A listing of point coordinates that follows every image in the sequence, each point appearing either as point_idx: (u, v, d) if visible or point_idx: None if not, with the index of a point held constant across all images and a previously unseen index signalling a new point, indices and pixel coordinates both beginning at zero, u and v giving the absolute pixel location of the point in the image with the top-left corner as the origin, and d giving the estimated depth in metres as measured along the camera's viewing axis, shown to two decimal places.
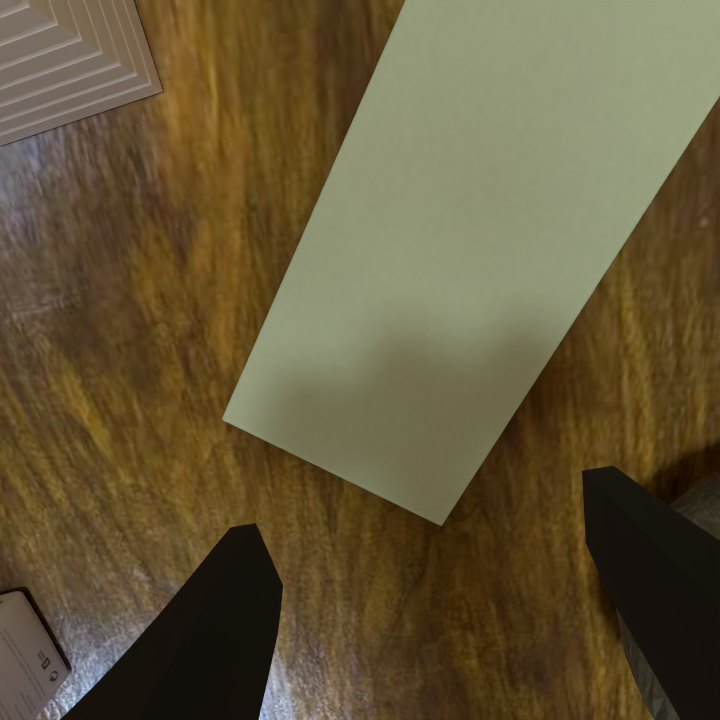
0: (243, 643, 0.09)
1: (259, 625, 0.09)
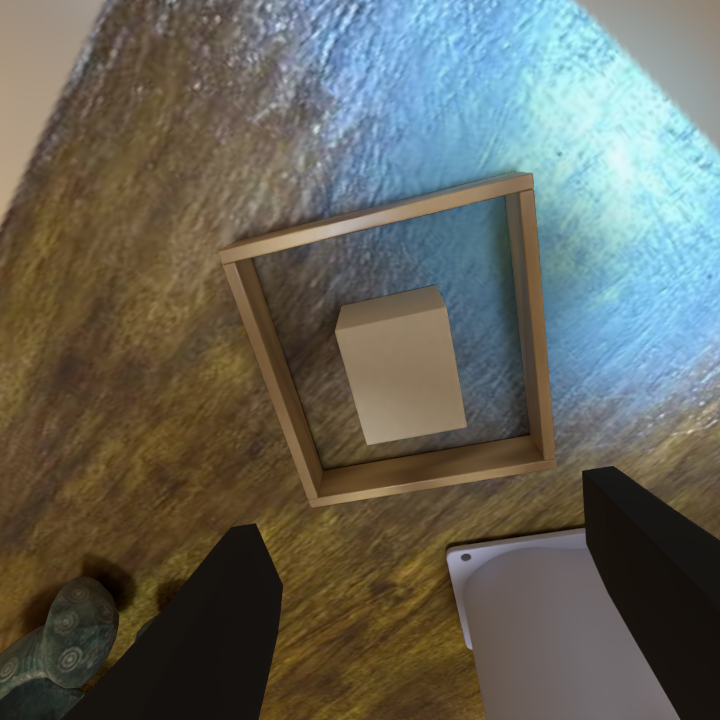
0: (243, 643, 0.09)
1: (259, 625, 0.09)
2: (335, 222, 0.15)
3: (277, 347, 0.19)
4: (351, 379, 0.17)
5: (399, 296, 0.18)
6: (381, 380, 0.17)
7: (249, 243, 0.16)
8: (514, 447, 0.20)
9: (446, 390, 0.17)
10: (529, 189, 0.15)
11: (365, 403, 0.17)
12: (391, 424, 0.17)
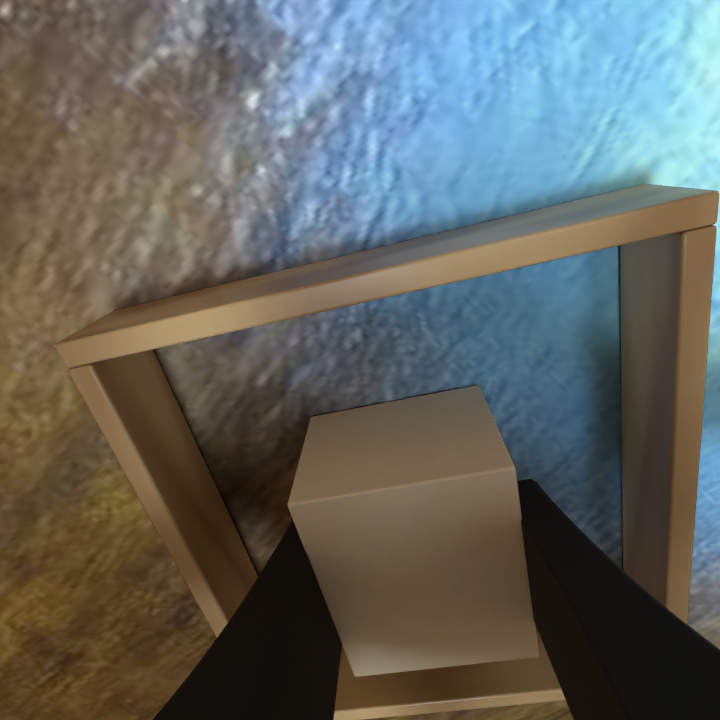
0: (319, 634, 0.08)
1: (330, 616, 0.09)
2: (286, 291, 0.07)
3: (202, 484, 0.11)
4: (323, 582, 0.09)
5: (412, 409, 0.10)
6: (381, 584, 0.09)
7: (116, 329, 0.08)
8: None
9: (504, 603, 0.09)
10: (705, 225, 0.07)
11: (351, 618, 0.09)
12: (398, 649, 0.09)
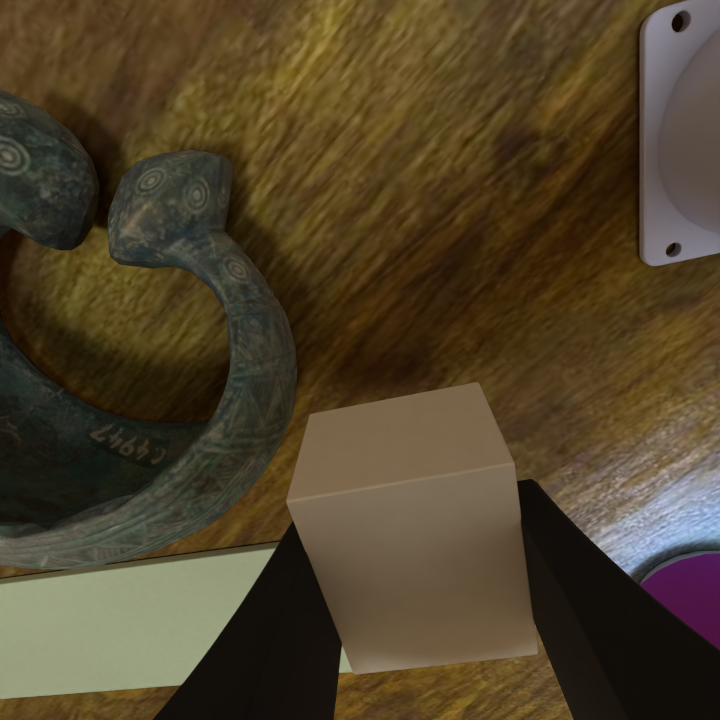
0: (319, 634, 0.08)
1: (330, 616, 0.09)
2: None
3: None
4: (322, 579, 0.09)
5: (412, 406, 0.10)
6: (380, 581, 0.09)
7: None
8: None
9: (504, 600, 0.09)
10: None
11: (349, 615, 0.09)
12: (398, 646, 0.09)
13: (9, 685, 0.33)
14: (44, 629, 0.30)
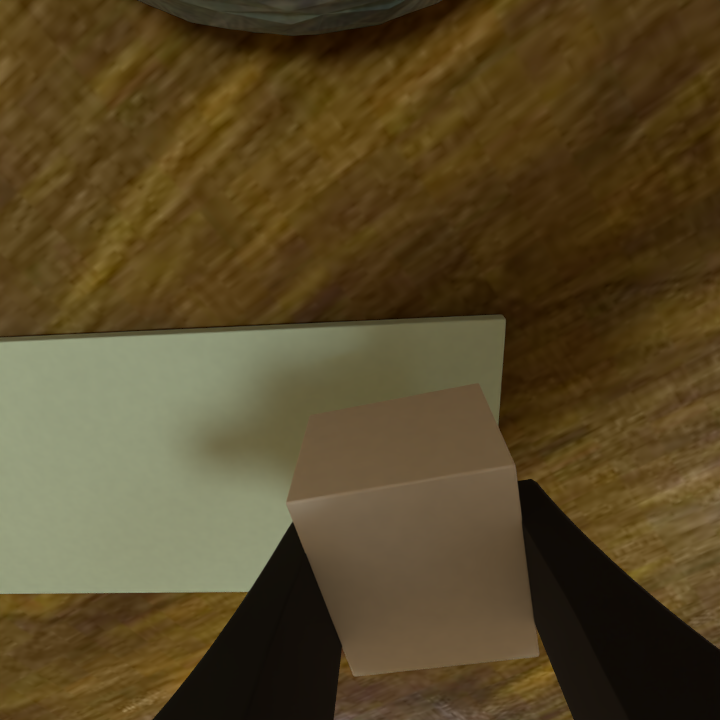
0: (319, 634, 0.08)
1: (330, 617, 0.09)
2: None
3: None
4: (322, 581, 0.09)
5: (412, 407, 0.10)
6: (380, 584, 0.09)
7: None
8: None
9: (505, 602, 0.09)
10: None
11: (349, 617, 0.09)
12: (398, 648, 0.09)
13: None
14: None
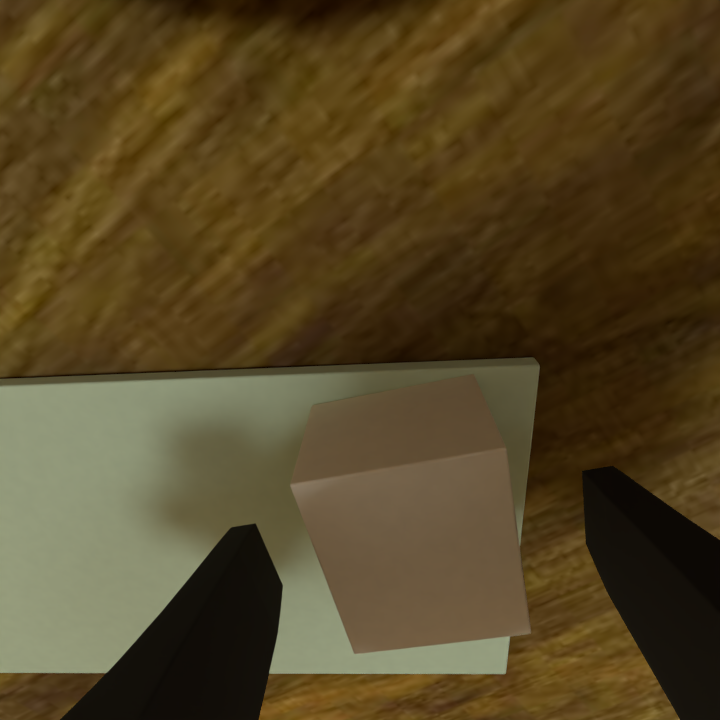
0: (243, 644, 0.09)
1: (259, 625, 0.09)
2: None
3: None
4: (324, 561, 0.09)
5: (410, 397, 0.10)
6: (380, 562, 0.09)
7: None
8: None
9: (498, 581, 0.09)
10: None
11: (350, 596, 0.09)
12: (396, 626, 0.10)
13: None
14: None
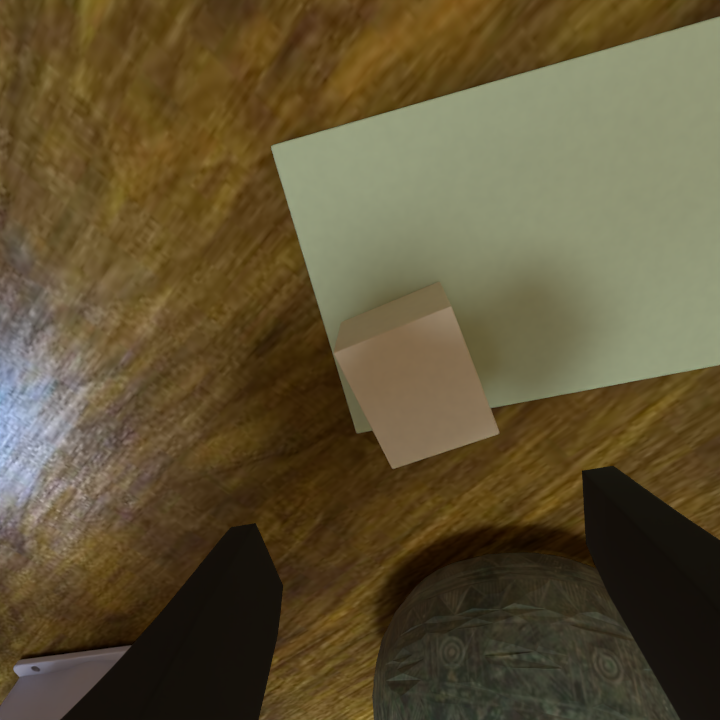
0: (243, 643, 0.09)
1: (258, 626, 0.09)
2: None
3: None
4: (478, 387, 0.15)
5: None
6: (443, 392, 0.15)
7: None
8: None
9: (369, 392, 0.15)
10: None
11: (459, 362, 0.14)
12: (424, 341, 0.14)
13: None
14: None
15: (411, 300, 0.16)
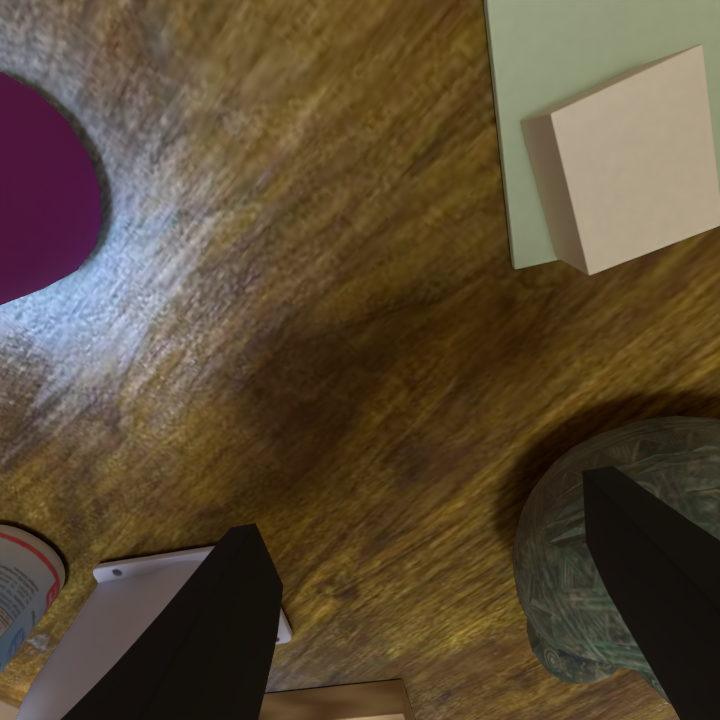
0: (243, 643, 0.09)
1: (259, 625, 0.09)
2: None
3: None
4: (711, 159, 0.13)
5: None
6: (669, 167, 0.13)
7: None
8: None
9: (583, 168, 0.13)
10: None
11: (696, 124, 0.12)
12: (661, 95, 0.12)
13: None
14: None
15: (619, 76, 0.14)
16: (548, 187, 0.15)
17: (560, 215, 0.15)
